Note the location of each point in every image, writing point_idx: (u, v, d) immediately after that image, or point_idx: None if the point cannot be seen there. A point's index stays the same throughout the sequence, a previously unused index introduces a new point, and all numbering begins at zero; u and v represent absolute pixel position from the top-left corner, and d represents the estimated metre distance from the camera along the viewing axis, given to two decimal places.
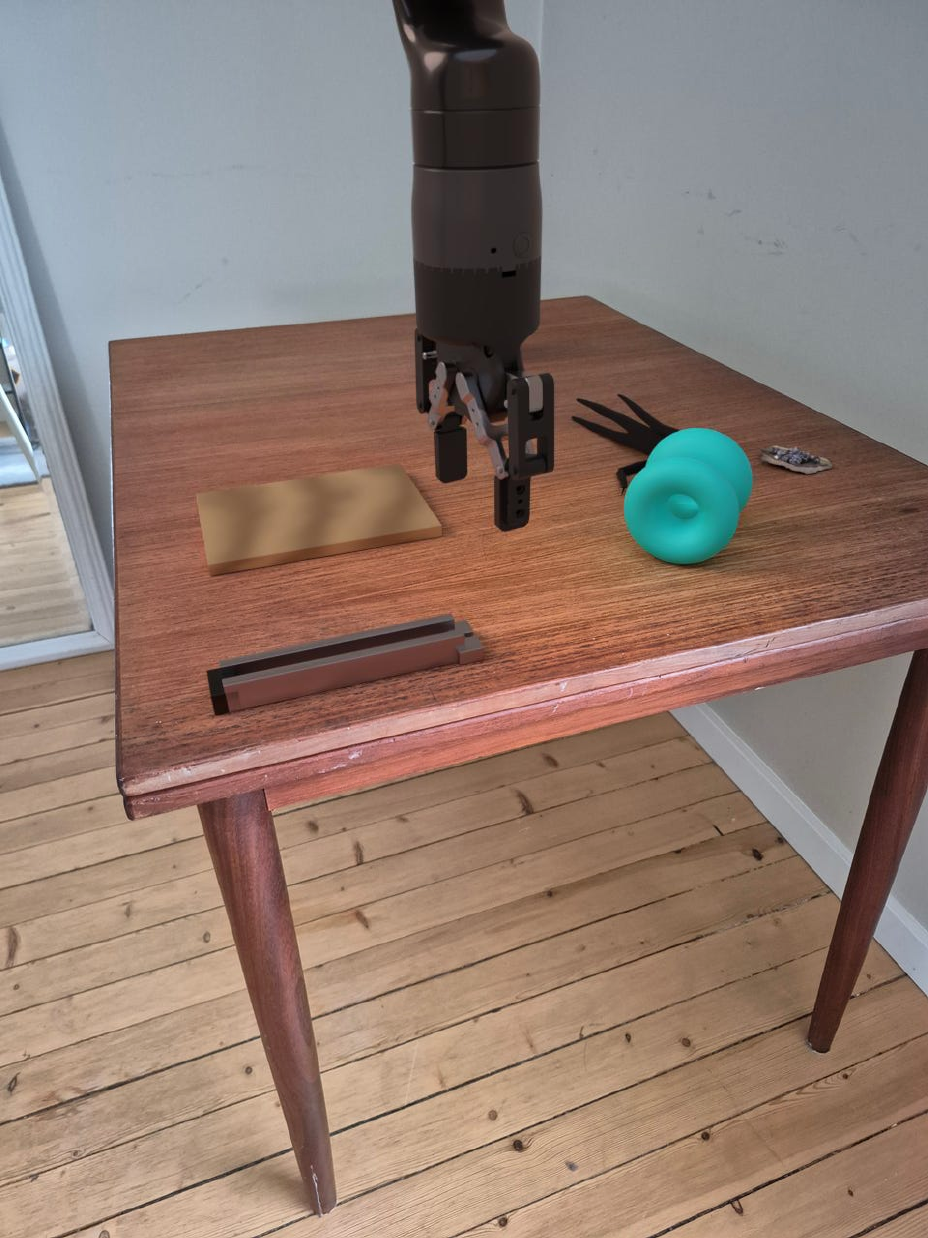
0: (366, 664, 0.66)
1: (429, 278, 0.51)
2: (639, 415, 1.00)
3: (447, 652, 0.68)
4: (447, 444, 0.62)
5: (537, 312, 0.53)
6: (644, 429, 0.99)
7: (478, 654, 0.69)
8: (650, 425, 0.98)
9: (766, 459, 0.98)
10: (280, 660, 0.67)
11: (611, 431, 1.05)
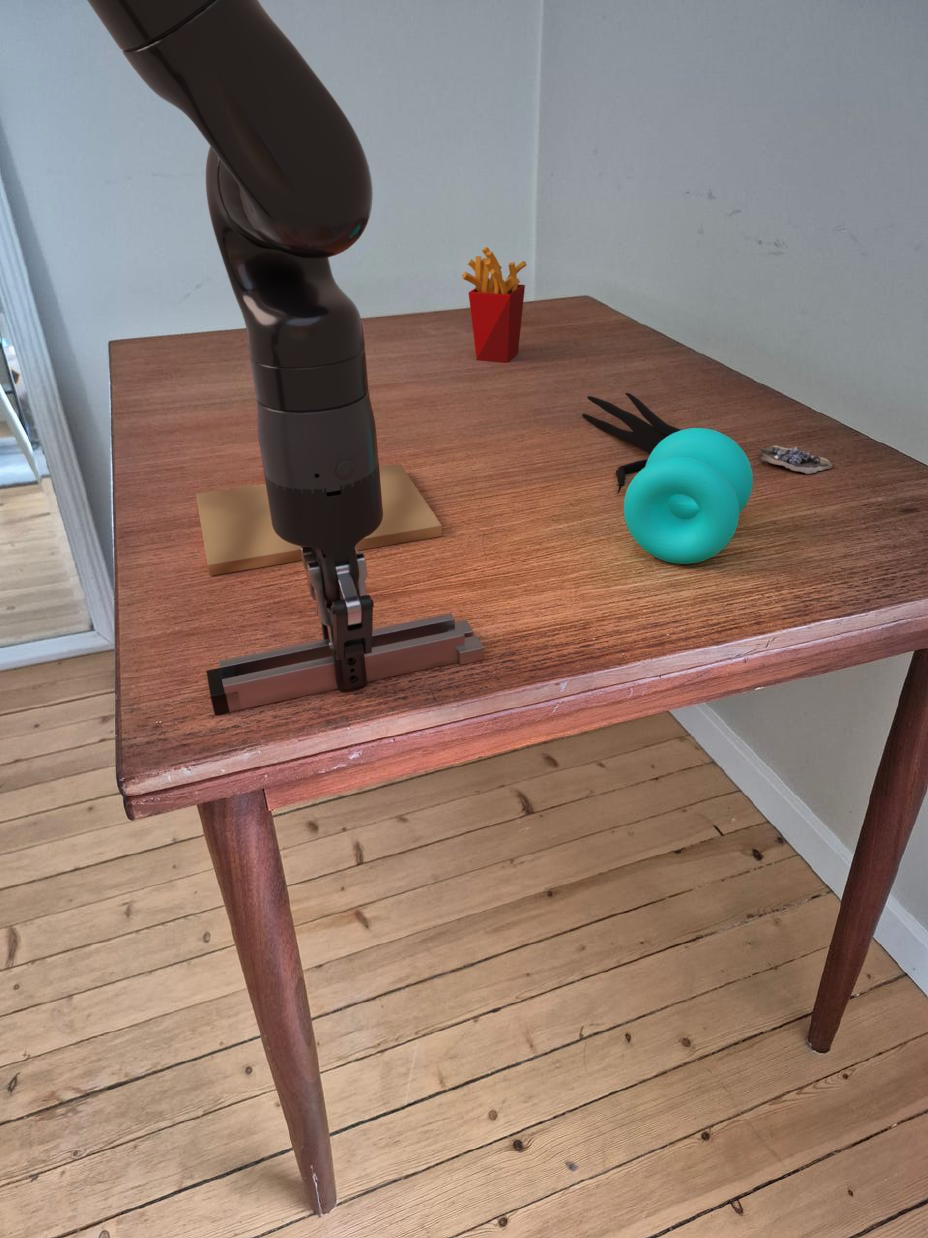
0: (366, 664, 0.66)
1: (270, 490, 0.58)
2: (643, 414, 1.00)
3: (447, 652, 0.68)
4: None
5: (372, 518, 0.59)
6: (648, 428, 0.99)
7: (478, 654, 0.69)
8: (653, 424, 0.98)
9: (766, 459, 0.98)
10: (280, 660, 0.67)
11: (617, 429, 1.05)
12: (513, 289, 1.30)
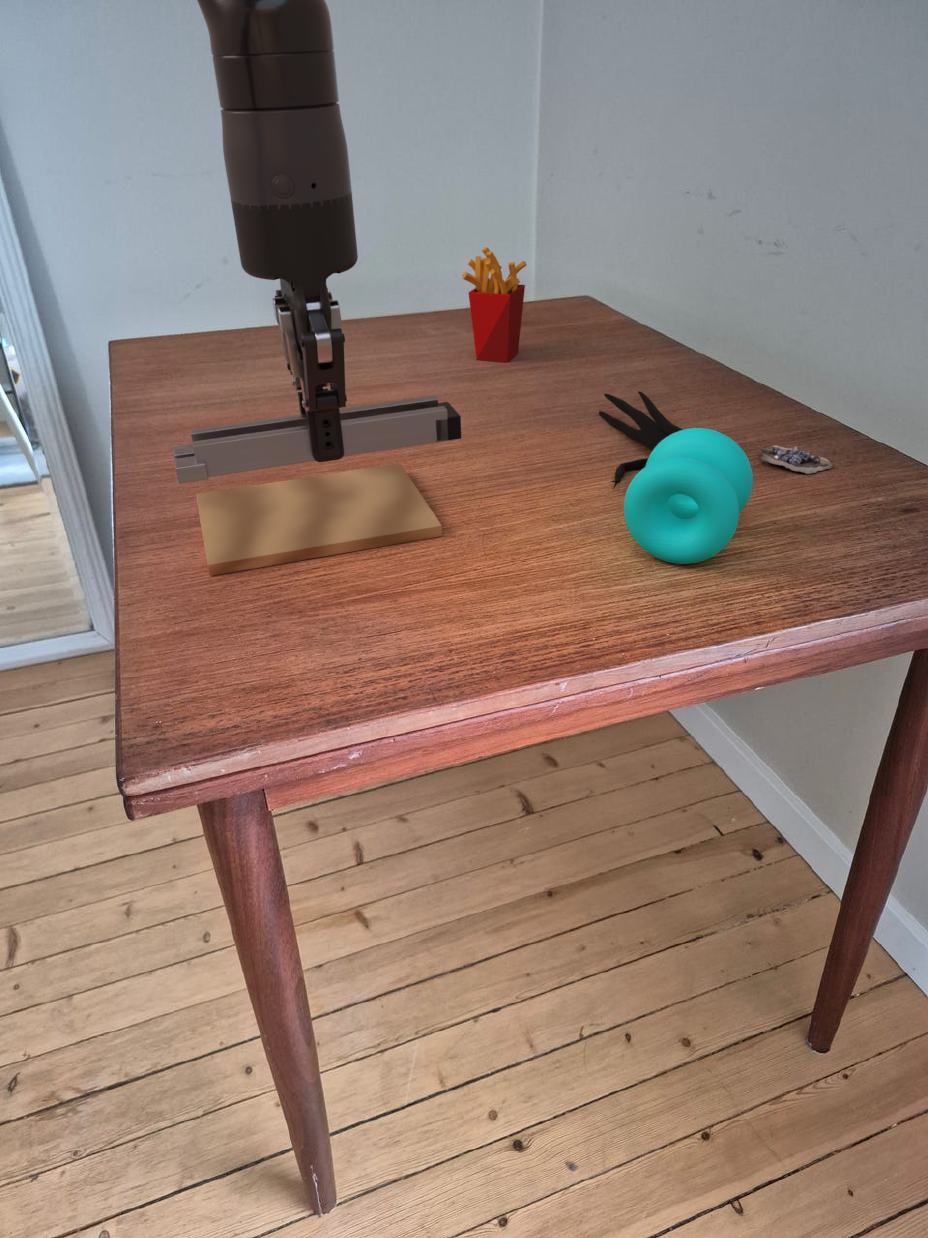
0: None
1: None
2: (650, 413, 1.00)
3: None
4: None
5: None
6: (653, 427, 1.00)
7: None
8: (658, 423, 0.98)
9: (766, 459, 0.98)
10: None
11: (628, 427, 1.05)
12: (513, 289, 1.30)
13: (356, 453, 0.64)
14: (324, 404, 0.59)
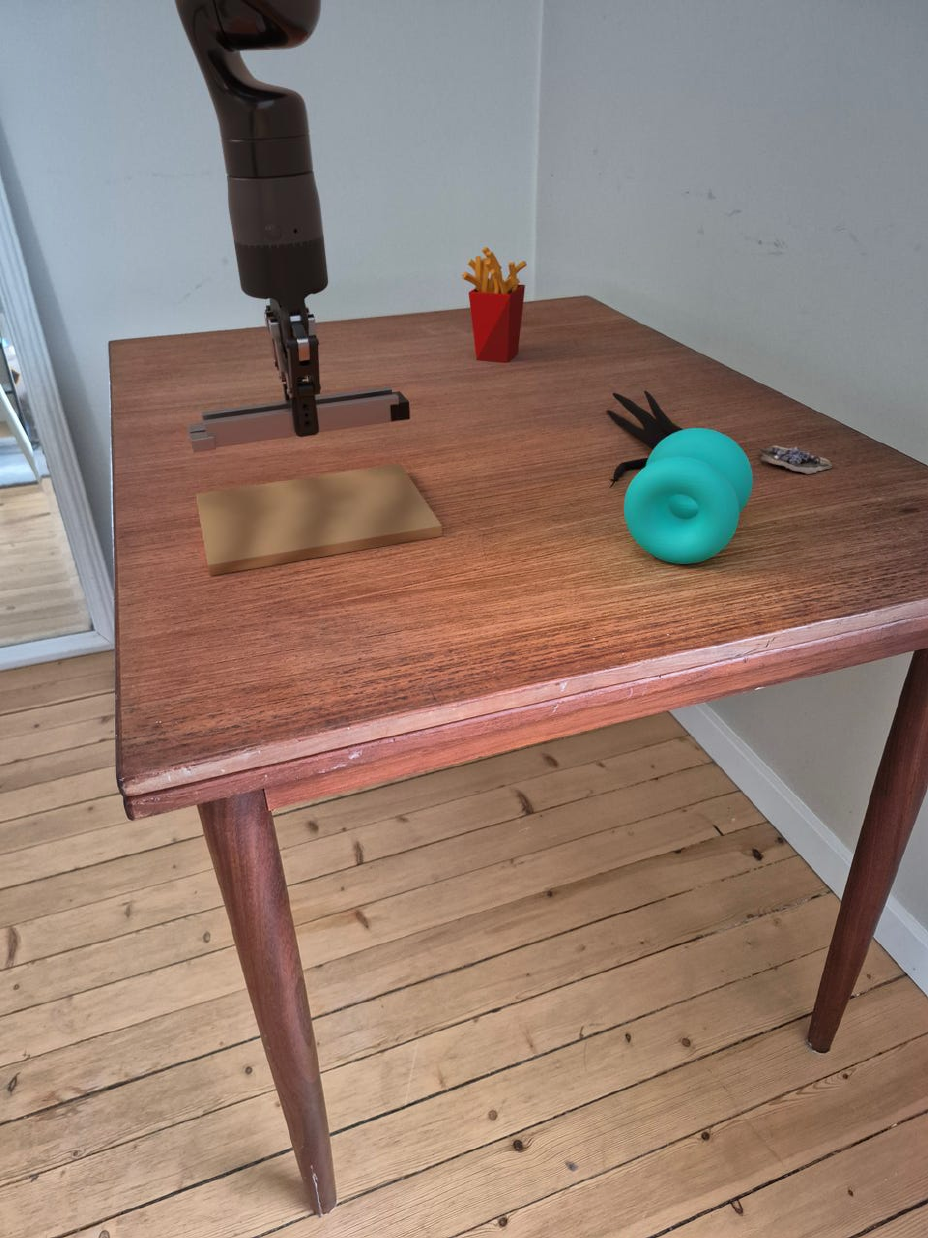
0: None
1: None
2: (653, 412, 1.00)
3: None
4: None
5: None
6: (656, 426, 1.00)
7: None
8: (660, 423, 0.98)
9: (766, 459, 0.98)
10: None
11: (632, 427, 1.06)
12: (513, 289, 1.30)
13: (328, 430, 0.84)
14: (304, 391, 0.78)
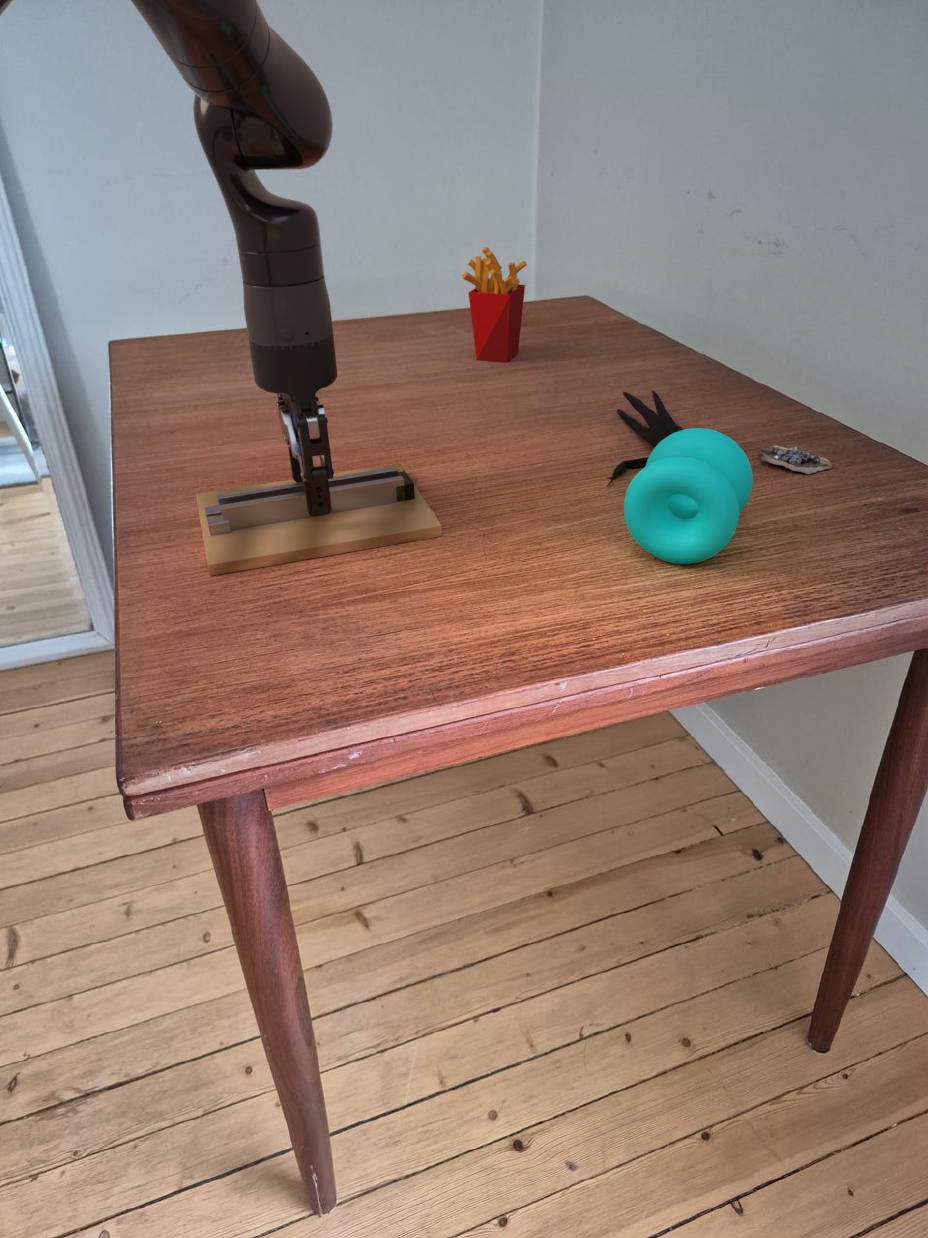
0: None
1: None
2: (658, 412, 1.00)
3: None
4: None
5: None
6: (660, 426, 1.00)
7: None
8: (663, 422, 0.99)
9: (766, 459, 0.98)
10: None
11: (639, 426, 1.06)
12: (513, 289, 1.30)
13: (338, 511, 0.89)
14: (317, 474, 0.80)
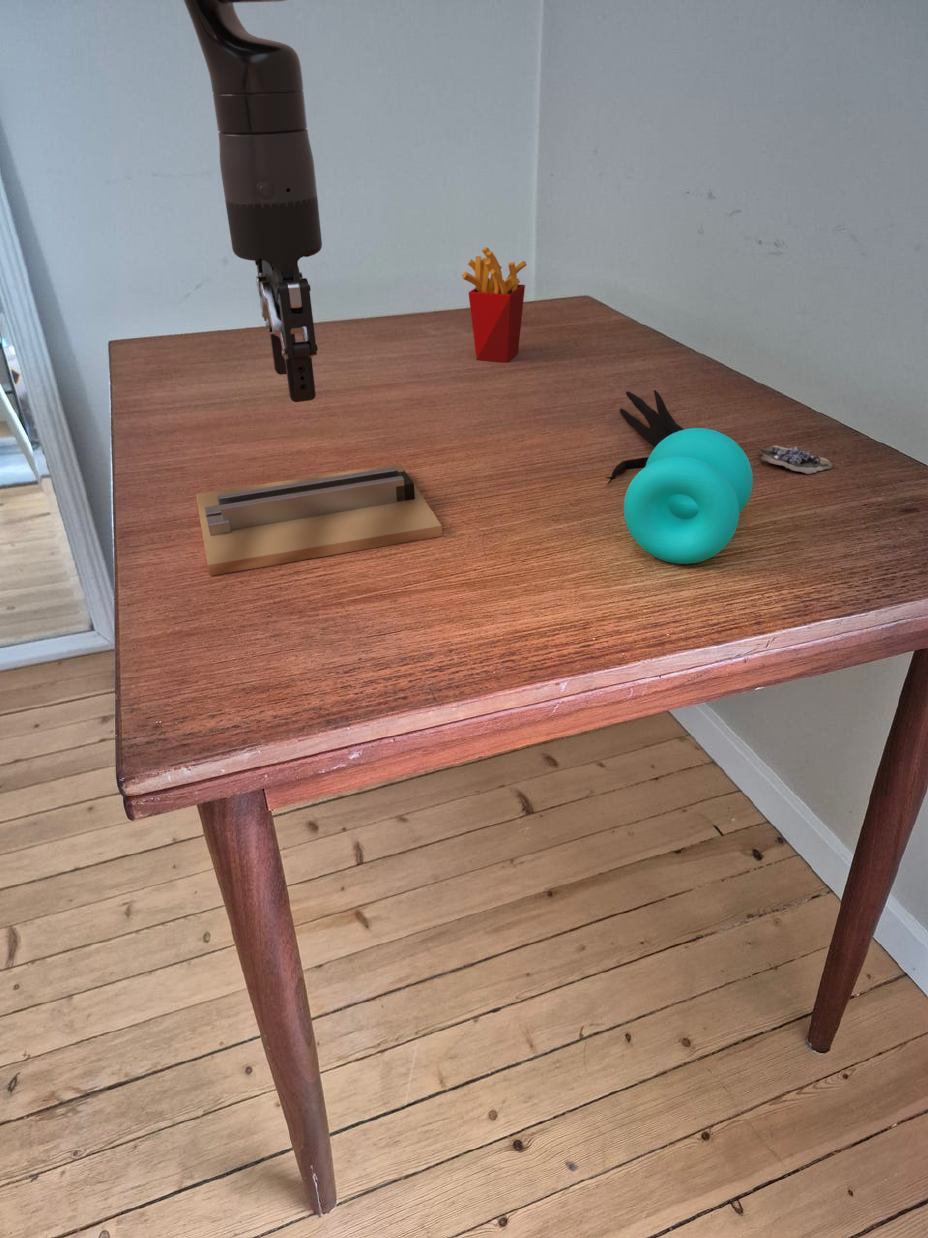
0: None
1: None
2: (659, 412, 1.00)
3: None
4: None
5: None
6: (660, 426, 1.00)
7: None
8: (664, 422, 0.99)
9: (766, 459, 0.98)
10: None
11: (640, 426, 1.06)
12: (513, 289, 1.30)
13: (338, 511, 0.89)
14: (299, 349, 0.74)
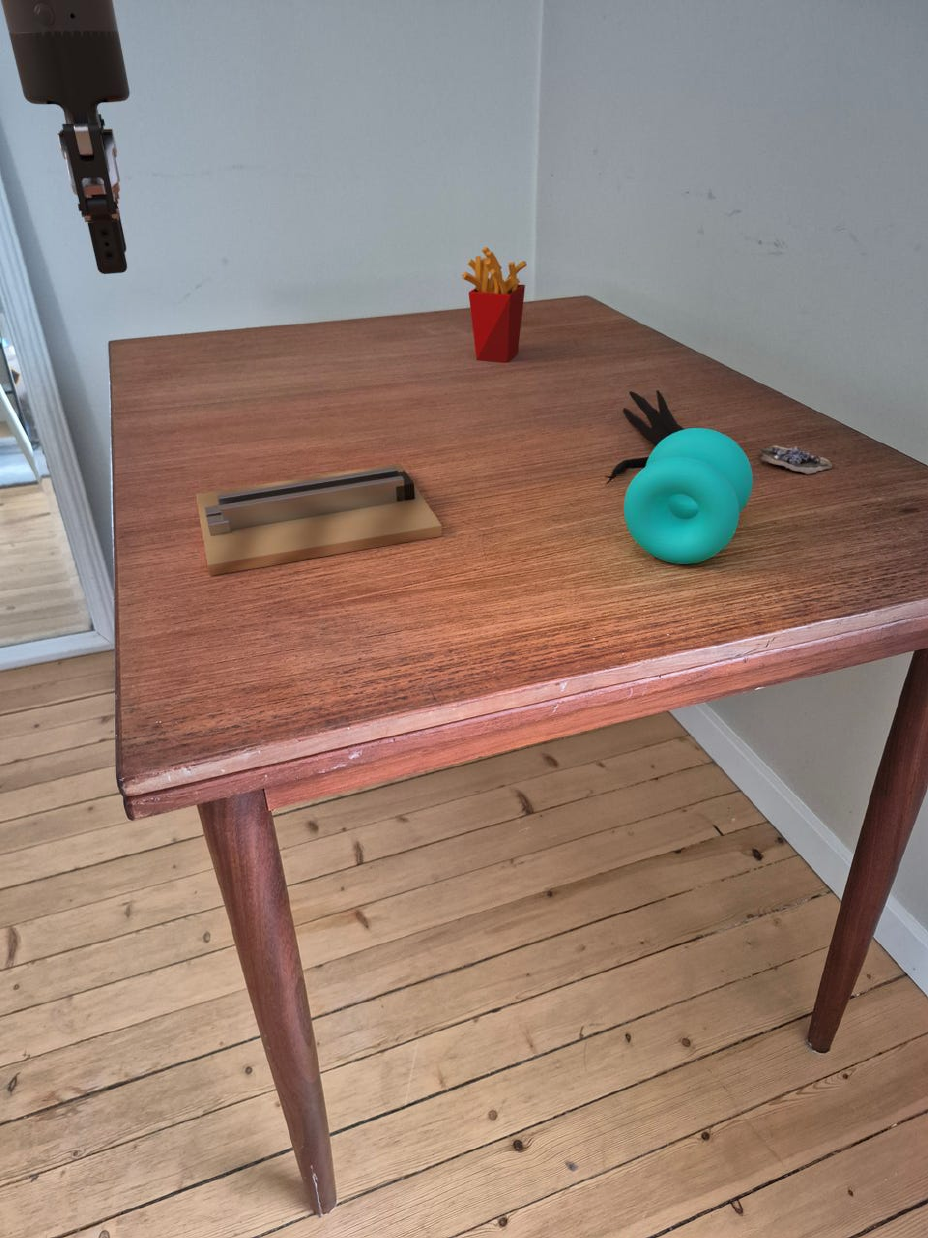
0: None
1: None
2: (660, 412, 1.00)
3: None
4: None
5: None
6: (661, 426, 1.00)
7: None
8: (665, 422, 0.99)
9: (766, 459, 0.98)
10: None
11: (642, 426, 1.06)
12: (513, 289, 1.30)
13: (338, 511, 0.89)
14: (94, 204, 0.65)
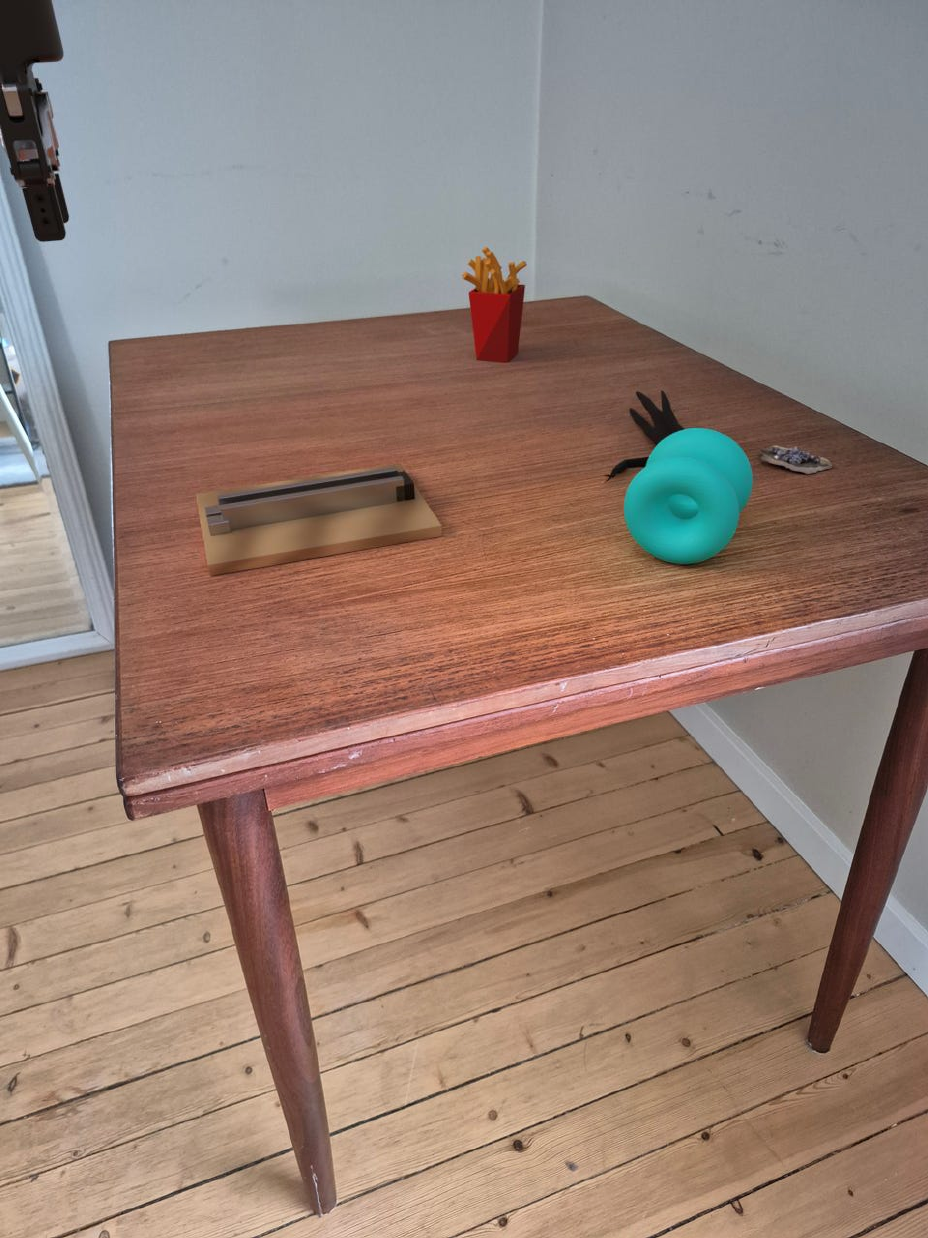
0: None
1: None
2: (663, 412, 1.00)
3: None
4: None
5: None
6: (664, 426, 1.00)
7: None
8: (667, 422, 0.99)
9: (766, 459, 0.98)
10: None
11: (646, 425, 1.06)
12: (513, 289, 1.30)
13: (338, 511, 0.89)
14: (26, 168, 0.63)
